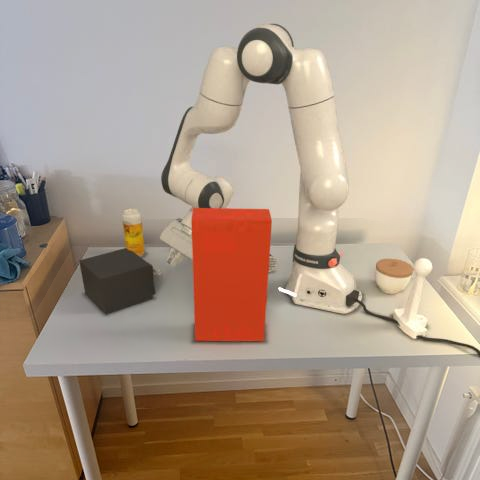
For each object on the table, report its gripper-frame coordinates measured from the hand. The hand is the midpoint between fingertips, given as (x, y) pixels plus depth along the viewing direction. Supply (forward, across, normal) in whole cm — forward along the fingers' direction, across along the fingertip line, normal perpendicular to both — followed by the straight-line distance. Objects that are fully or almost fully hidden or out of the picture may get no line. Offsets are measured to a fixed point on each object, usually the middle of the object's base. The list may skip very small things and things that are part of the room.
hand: (169, 264), depth 140 cm
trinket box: (-32, +44, +40) cm, 68 cm away
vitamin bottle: (+4, -22, +4) cm, 23 cm away
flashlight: (-17, +7, +25) cm, 31 cm away
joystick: (-23, +60, +31) cm, 72 cm away
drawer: (+12, 0, -7) cm, 14 cm away
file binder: (+6, +34, +2) cm, 34 cm away
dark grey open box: (+16, 0, -9) cm, 18 cm away
